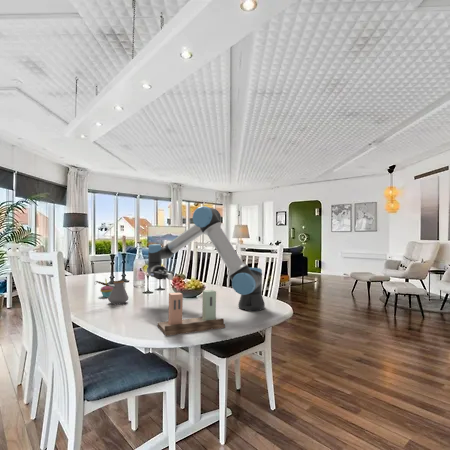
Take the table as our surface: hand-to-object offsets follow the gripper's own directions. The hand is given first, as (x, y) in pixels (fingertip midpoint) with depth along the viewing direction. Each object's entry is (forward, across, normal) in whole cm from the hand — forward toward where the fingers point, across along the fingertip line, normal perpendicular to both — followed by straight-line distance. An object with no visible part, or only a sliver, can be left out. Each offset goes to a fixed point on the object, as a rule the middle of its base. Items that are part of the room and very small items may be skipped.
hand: (171, 276), depth 150 cm
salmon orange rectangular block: (+18, +4, -19) cm, 27 cm away
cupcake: (-68, +23, -19) cm, 75 cm away
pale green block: (+19, -12, -19) cm, 29 cm away
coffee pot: (-43, +23, -20) cm, 53 cm away
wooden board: (+17, -4, -21) cm, 27 cm away
